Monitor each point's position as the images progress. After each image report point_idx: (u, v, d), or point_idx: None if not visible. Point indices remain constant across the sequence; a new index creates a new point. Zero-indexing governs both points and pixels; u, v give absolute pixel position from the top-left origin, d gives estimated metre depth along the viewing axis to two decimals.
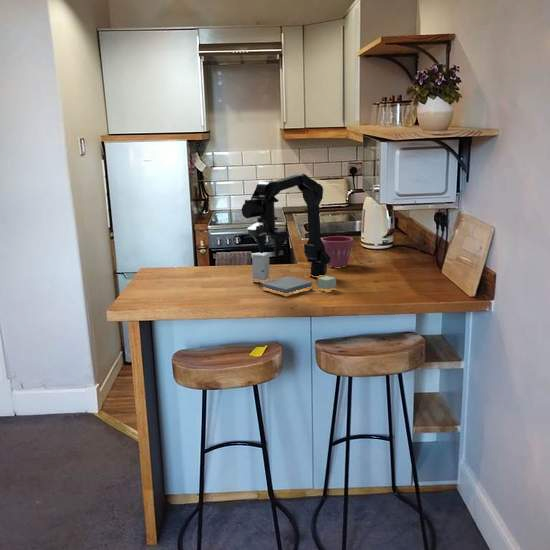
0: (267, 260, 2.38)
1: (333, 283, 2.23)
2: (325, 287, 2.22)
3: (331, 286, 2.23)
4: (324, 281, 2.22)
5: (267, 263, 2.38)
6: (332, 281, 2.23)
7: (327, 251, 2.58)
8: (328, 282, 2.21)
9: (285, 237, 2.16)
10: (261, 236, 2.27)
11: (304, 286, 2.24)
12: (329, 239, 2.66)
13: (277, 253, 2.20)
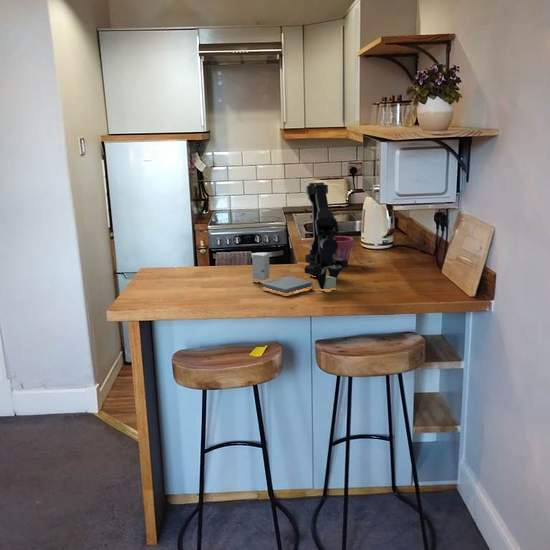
0: (267, 260, 2.38)
1: (333, 283, 2.23)
2: (325, 287, 2.22)
3: (331, 286, 2.23)
4: None
5: (267, 263, 2.38)
6: (332, 281, 2.23)
7: None
8: (328, 282, 2.21)
9: (310, 273, 2.16)
10: (333, 270, 2.25)
11: (304, 286, 2.24)
12: None
13: (321, 286, 2.23)
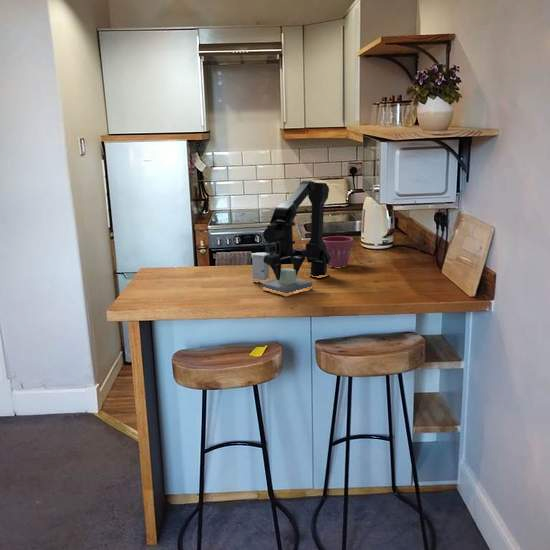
0: None
1: (293, 275, 2.25)
2: (285, 279, 2.24)
3: (291, 278, 2.25)
4: (284, 273, 2.23)
5: None
6: (292, 273, 2.25)
7: (327, 251, 2.58)
8: (288, 274, 2.23)
9: (269, 262, 2.18)
10: (296, 259, 2.28)
11: (304, 286, 2.24)
12: (329, 239, 2.66)
13: (277, 277, 2.23)
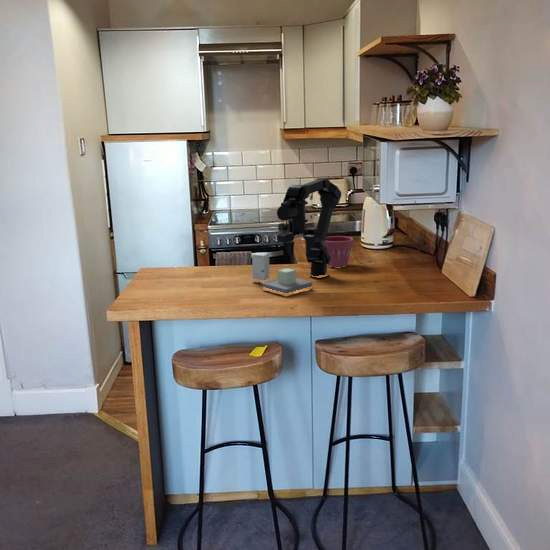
0: (267, 260, 2.38)
1: (293, 275, 2.25)
2: (285, 279, 2.24)
3: (291, 278, 2.25)
4: (284, 273, 2.23)
5: (267, 263, 2.38)
6: (292, 273, 2.25)
7: (327, 251, 2.58)
8: (288, 274, 2.23)
9: (282, 240, 2.23)
10: (308, 237, 2.33)
11: (304, 286, 2.24)
12: (329, 239, 2.66)
13: (289, 254, 2.28)
